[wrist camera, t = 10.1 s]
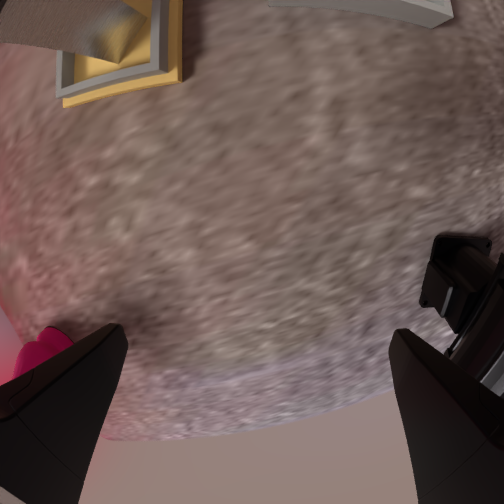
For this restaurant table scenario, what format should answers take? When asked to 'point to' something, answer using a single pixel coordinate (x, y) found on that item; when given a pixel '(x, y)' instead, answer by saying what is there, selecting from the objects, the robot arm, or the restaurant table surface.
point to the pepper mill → (40, 350)
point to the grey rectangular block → (72, 26)
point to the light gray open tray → (384, 9)
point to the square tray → (127, 59)
